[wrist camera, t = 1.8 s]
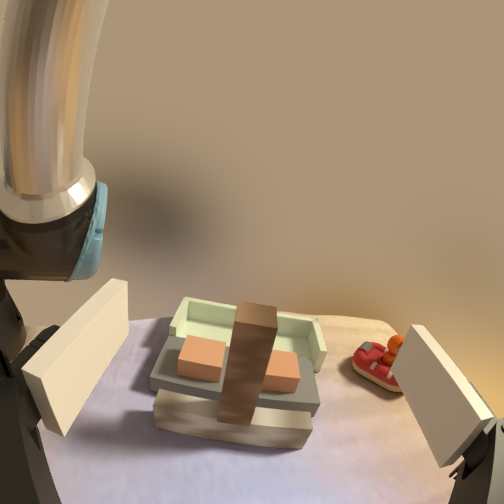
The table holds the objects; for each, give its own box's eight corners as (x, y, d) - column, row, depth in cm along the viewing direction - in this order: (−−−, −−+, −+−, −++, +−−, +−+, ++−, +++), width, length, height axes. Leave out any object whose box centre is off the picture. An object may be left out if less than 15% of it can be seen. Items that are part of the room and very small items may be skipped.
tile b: (253, 388, 32) (257, 373, 31) (254, 362, 37) (257, 347, 36) (294, 393, 32) (300, 378, 31) (291, 367, 37) (296, 352, 36)
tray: (168, 348, 40) (169, 325, 38) (182, 317, 48) (184, 296, 47) (318, 372, 40) (327, 351, 39) (310, 338, 49) (317, 318, 48)
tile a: (177, 374, 32) (178, 358, 31) (186, 349, 37) (187, 334, 36) (219, 382, 32) (221, 367, 31) (223, 357, 37) (226, 342, 36)
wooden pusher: (153, 429, 26) (149, 303, 21) (160, 409, 29) (162, 285, 24) (301, 451, 26) (358, 338, 21) (299, 430, 29) (348, 317, 24)
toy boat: (404, 403, 35) (428, 364, 32) (342, 369, 42) (359, 329, 39) (417, 379, 40) (437, 343, 38) (362, 351, 47) (377, 314, 45)
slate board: (150, 390, 31) (149, 376, 30) (168, 348, 40) (169, 334, 39) (313, 416, 32) (320, 403, 31) (306, 371, 40) (310, 358, 39)
